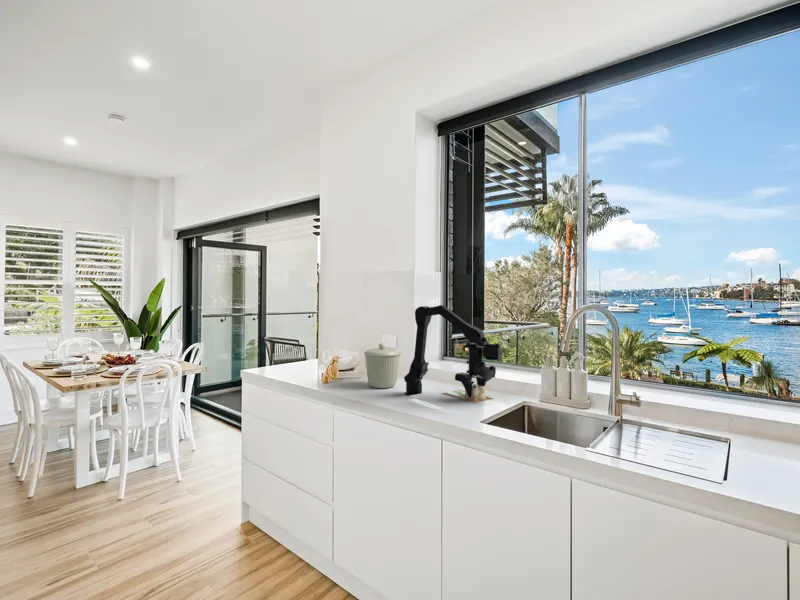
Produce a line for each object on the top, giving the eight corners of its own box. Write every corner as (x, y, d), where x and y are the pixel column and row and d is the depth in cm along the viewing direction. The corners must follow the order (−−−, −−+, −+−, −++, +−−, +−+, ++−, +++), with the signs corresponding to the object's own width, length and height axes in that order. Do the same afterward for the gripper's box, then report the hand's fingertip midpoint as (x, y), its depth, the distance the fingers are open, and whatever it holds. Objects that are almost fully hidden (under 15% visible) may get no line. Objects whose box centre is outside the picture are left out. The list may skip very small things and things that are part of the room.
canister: (388, 392, 193) (388, 346, 193) (356, 387, 202) (356, 343, 202) (407, 385, 209) (407, 342, 208) (376, 381, 218) (377, 340, 217)
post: (475, 399, 175) (475, 386, 175) (471, 398, 177) (471, 385, 177) (479, 398, 176) (479, 385, 176) (475, 397, 178) (475, 384, 178)
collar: (475, 400, 173) (475, 388, 172) (464, 397, 177) (465, 386, 177) (485, 398, 176) (485, 386, 176) (474, 395, 181) (474, 384, 181)
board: (473, 406, 169) (474, 402, 169) (440, 396, 185) (440, 392, 185) (493, 402, 176) (494, 398, 176) (459, 393, 192) (459, 389, 192)
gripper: (474, 363, 164) (473, 403, 165) (505, 359, 176) (505, 396, 176) (454, 359, 173) (453, 397, 174) (485, 356, 185) (484, 391, 185)
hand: (475, 395), depth 177 cm, fingers closed on collar, 6 cm apart
